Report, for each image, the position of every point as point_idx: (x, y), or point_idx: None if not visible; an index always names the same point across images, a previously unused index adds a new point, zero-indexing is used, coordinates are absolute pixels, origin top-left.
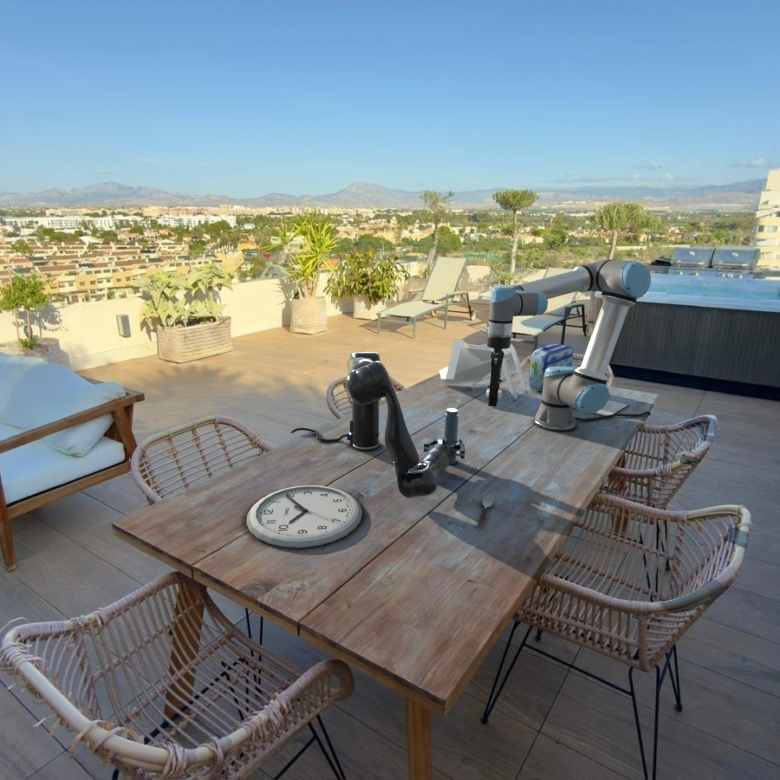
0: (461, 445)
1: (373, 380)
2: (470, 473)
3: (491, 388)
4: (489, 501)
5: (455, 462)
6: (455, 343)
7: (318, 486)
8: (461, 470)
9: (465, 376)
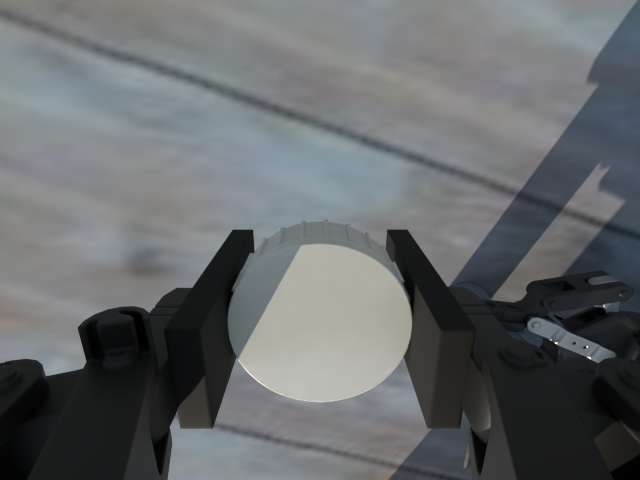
0: (562, 307)
1: None
2: (551, 222)
3: (457, 396)
4: None
5: (470, 283)
6: None
7: None
8: (529, 255)
9: None
